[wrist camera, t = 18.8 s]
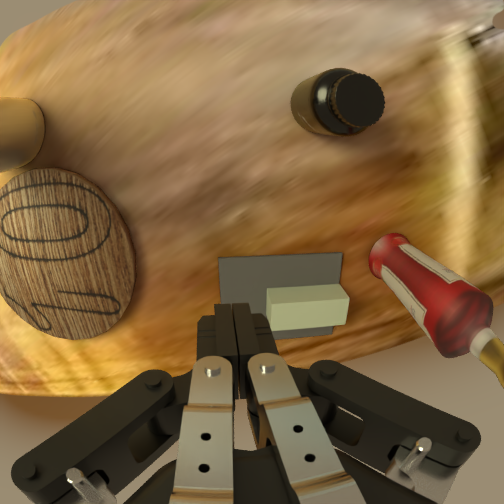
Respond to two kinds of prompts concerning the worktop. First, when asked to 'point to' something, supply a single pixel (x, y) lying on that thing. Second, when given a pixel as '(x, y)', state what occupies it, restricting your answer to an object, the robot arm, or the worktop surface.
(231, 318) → the robot arm
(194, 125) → the worktop surface
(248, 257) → the mat
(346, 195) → the worktop surface
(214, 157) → the worktop surface
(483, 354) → the red sauce bottle
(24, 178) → the trivet
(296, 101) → the supplement bottle
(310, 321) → the block
